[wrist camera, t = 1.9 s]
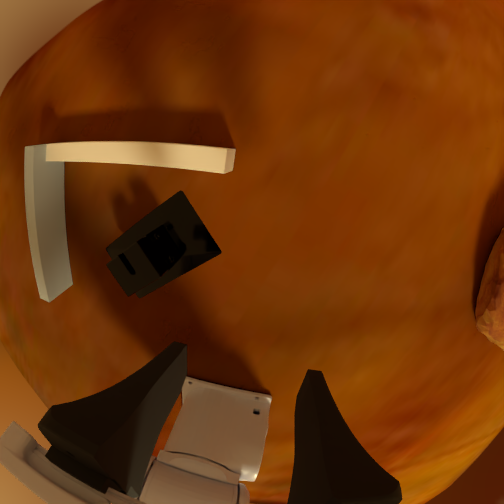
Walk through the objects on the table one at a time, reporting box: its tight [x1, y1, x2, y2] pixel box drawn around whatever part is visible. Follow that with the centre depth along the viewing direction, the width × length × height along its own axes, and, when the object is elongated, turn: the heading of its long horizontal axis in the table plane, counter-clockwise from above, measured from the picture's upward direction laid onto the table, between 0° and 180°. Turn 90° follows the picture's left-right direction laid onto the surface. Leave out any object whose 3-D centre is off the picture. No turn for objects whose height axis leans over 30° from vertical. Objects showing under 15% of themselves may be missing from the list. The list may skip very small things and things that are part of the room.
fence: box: [24, 141, 236, 302], centre depth 19 cm, size 18×14×4 cm
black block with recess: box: [106, 191, 221, 298], centre depth 20 cm, size 12×7×5 cm, turn 122°
